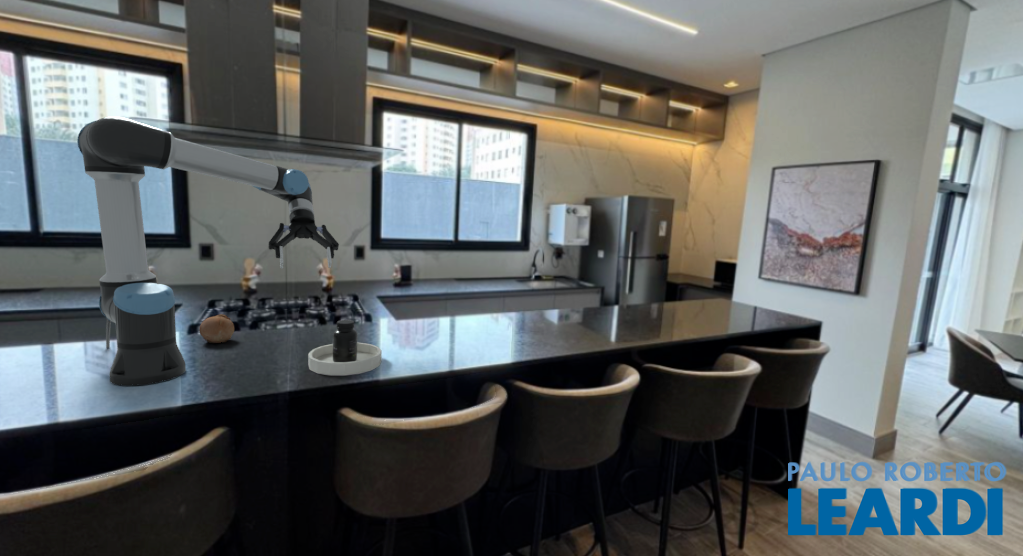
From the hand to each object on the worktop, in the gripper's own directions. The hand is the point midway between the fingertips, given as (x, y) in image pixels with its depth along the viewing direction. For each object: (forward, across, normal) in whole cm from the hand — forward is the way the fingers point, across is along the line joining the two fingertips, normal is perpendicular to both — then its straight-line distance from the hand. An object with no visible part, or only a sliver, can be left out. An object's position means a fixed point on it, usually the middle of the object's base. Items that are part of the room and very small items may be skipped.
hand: (306, 265), depth 135 cm
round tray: (+31, -9, -8) cm, 33 cm away
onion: (+5, +25, -34) cm, 43 cm away
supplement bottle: (+30, -9, -8) cm, 32 cm away
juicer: (+4, +46, -36) cm, 58 cm away
